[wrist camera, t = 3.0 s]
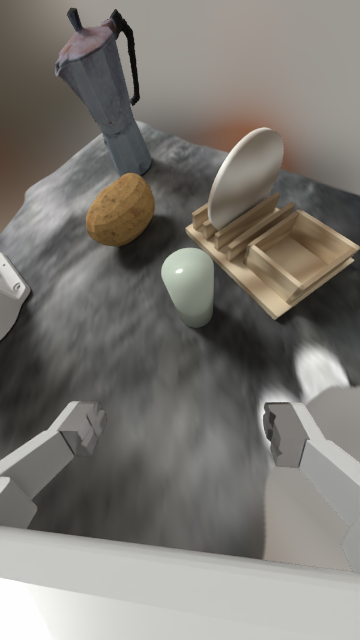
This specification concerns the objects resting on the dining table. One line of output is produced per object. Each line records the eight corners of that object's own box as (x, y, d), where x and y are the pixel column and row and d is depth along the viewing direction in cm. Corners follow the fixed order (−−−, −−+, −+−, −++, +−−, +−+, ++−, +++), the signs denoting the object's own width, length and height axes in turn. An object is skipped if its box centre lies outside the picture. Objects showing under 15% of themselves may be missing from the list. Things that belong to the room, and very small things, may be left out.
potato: (92, 247, 36) (61, 212, 29) (137, 202, 39) (119, 158, 32) (124, 268, 33) (99, 234, 26) (171, 217, 36) (160, 173, 28)
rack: (186, 233, 34) (171, 145, 21) (245, 193, 35) (263, 88, 22) (274, 320, 25) (333, 259, 13) (348, 265, 26) (466, 161, 14)
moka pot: (100, 180, 44) (19, 29, 25) (143, 143, 46) (97, -19, 28) (125, 192, 41) (54, 30, 22) (170, 152, 43) (139, -24, 25)
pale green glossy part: (173, 309, 29) (152, 267, 18) (199, 290, 29) (192, 239, 19) (192, 334, 27) (180, 302, 17) (219, 314, 27) (225, 271, 17)
